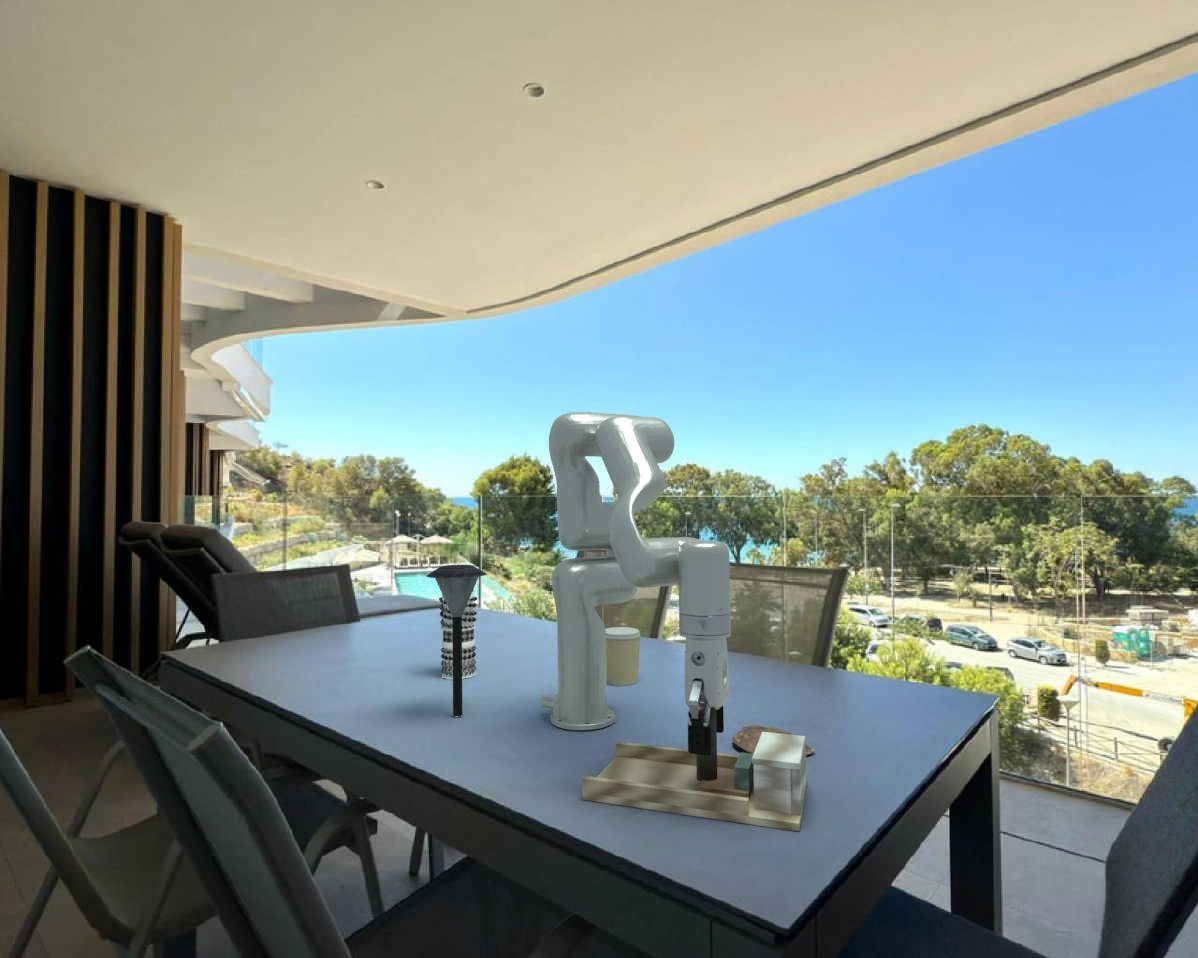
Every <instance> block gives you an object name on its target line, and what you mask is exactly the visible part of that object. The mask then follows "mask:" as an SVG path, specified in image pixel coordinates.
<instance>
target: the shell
mask: <svg viewBox="0 0 1198 958" xmlns="http://www.w3.org/2000/svg"><path fill="white" fill-rule="evenodd" d="M762 732H770V733H780V734H789V735H793V734H792V733H791V732H788V731H786V730H783V729H780V728H776V727H773V726H763V725H758V724H757V725H756V724H749V725H747V726H743V727H742V728H741V729H740V730H738V731H737V733H735V735H734V736H733V737H731V738H732V743H731V745H732V747H733V748H735V749H736V750H737V751H738V752H740V753H741V752H742V753H751V754H754V752H755V749H756V746H757V744H758V741H759V739H760V736H761V733H762ZM814 752H815V749H814V748H813V747H812V746H809V745H807V744H806V743H805V758H806V757H810V756H812V754H813V753H814Z"/></svg>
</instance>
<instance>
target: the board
mask: <svg viewBox="0 0 1198 958" xmlns="http://www.w3.org/2000/svg"><path fill="white" fill-rule="evenodd" d="M805 744H806V736H805V735H797V734H792V735H789V734H780V733H770V732H762V733H761V736H760V739H759V741H758V744H757V746H756V749H755V752H754V754H753V757H752V764H754V786H753V789H752V791H751V794H750V797H749V798H746V797H739V796H731V795H724V794H716V793H709V792H702V791H698V786H699V784H700V781H698V780H697V764H696V754H691V753H689V752H688V748H687V749H685V748H680V747H679V748H678V747H671V746H670V747H669V746H661V745H651V744H643V743H636V742H635V743H633V742H626V741H625V742H624V741H617V742H616V743H615V755H616V756H614V757H613V758H612V759H611V761H610V762H609V763H608V764H607V765H606V766H605V768H603V770H602V771H601V772H600V773H599V774H598V775H597V776H590V775H584V776H583V777H582V779H581V781H582V800H583V801H584V800H585V801H590V802H597V803H598V802H599V803H603V804H612V805H618V806H622V807H623V806H624V807H631V808H637V809H638V808H639V809H645V810H652V811H656V812H657V811H658V812H663V813H664V812H665V813H671V814H677V815H678V814H679V815H685V816H691V817H692V816H693V817H699V818H706V819H711V820H712V819H713V820H719V821H727V822H732V823H738V824H739V823H740V824H745V825H753V826H759V827H766V828H772V829H779V830H780V829H781V830H787V831H793V832H800V831H801V830H800V829H801V823H802V819H803V818H802V817H803V811H804V805H805V800H806V793H807V787H808V776H807V767H806V765H807V764H806V757H805ZM739 755H740V754H731V753H730V754H729V753H723V752H721V753H720V752H717V767H719V768H728V769H734V767H735V764H736V762H737V760H738V757H739Z"/></svg>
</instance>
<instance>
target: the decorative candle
mask: <svg viewBox="0 0 1198 958" xmlns="http://www.w3.org/2000/svg"><path fill="white" fill-rule="evenodd" d="M477 600H478V597H476V596H475V591H474V589H473V591H472V594H471V596H470V598H469V601H468V603H467V605H466V608H465V610H464V612H463V614H462V679H463V678H468V677H472V676H474V675H475V674H476V675H477V673H476V670H477V667H476V664H477V660H476V659H475V657H476V656H477V653H476V652H475V650H477V647H476V646H475V645H476V643H475V641H476V639H475V629H476V627H477V625H476V624H474V623H475V622H476V621H477V618H476V617H474V616H476V615H477V614H478V613H477V611H475V609H474V608H476V607H477V606H478V604H477V603H476V602H475V601H477ZM438 601H439V602H440V603H441V604H440V606H439V607H438V609H439V610H440V612H439V615H440V617H441V620H440V625H441V627H440V630H442V641H441V646H442V647H441V649H440V651H441V654H440V655H441V656H440V657H441V659H442V661H441V662H440V666H441V669H440V671H441V673H442V674H441V675H442V677H445V678H449V679H453V628H452V614H451V612H450V610H449V608H448V606H447V603H446V601H445V599H444V597H443V595H442V594H441V597H439V598H438ZM442 677H441V678H442ZM472 678H473V677H472Z"/></svg>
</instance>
